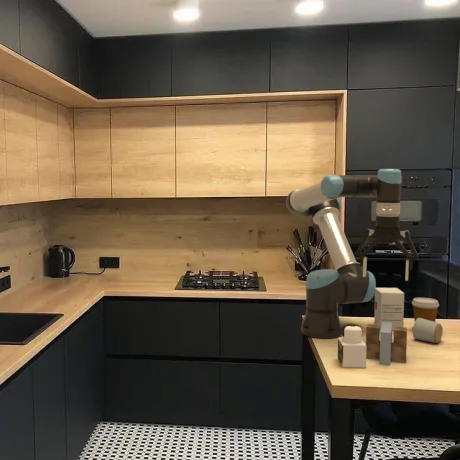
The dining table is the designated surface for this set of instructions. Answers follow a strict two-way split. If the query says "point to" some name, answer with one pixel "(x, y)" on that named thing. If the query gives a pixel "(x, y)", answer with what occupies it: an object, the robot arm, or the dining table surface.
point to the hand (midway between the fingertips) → (385, 278)
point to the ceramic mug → (427, 330)
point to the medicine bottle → (352, 347)
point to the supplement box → (389, 307)
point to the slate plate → (385, 343)
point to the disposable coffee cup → (425, 308)
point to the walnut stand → (396, 346)
